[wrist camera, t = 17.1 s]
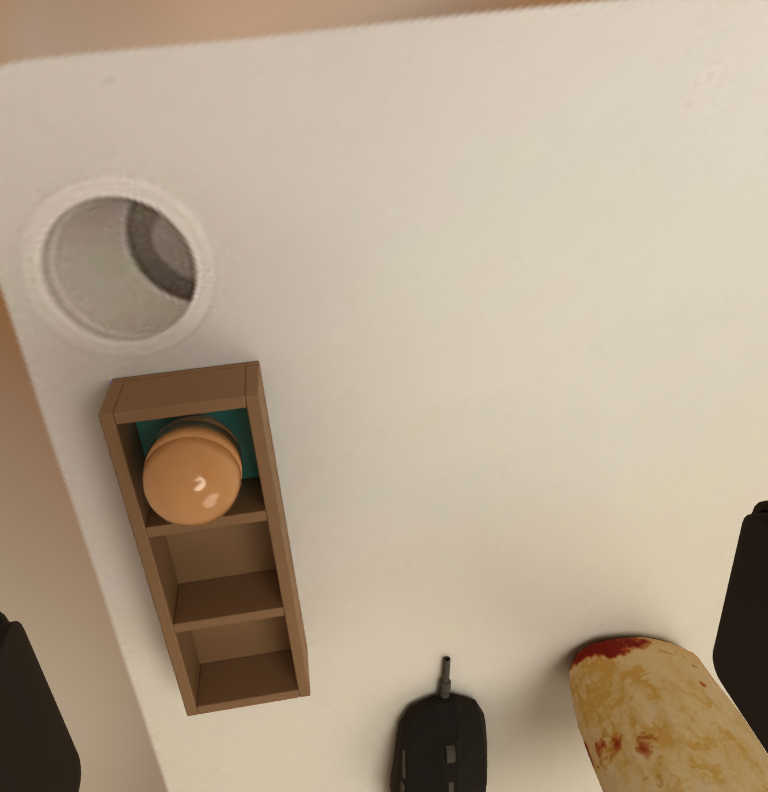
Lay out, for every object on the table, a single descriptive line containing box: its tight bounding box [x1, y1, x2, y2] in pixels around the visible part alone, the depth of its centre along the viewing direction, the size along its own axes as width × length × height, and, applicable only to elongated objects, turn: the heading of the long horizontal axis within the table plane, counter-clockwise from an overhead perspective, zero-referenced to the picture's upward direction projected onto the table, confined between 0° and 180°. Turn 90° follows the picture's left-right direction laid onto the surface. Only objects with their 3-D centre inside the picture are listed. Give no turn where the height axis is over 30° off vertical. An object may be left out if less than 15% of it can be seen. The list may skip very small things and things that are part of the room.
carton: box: [99, 361, 310, 716], centre depth 37 cm, size 7×19×3 cm, turn 4°
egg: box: [142, 414, 243, 527], centre depth 32 cm, size 4×4×6 cm
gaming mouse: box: [390, 656, 487, 792], centre depth 47 cm, size 6×15×4 cm, turn 178°
